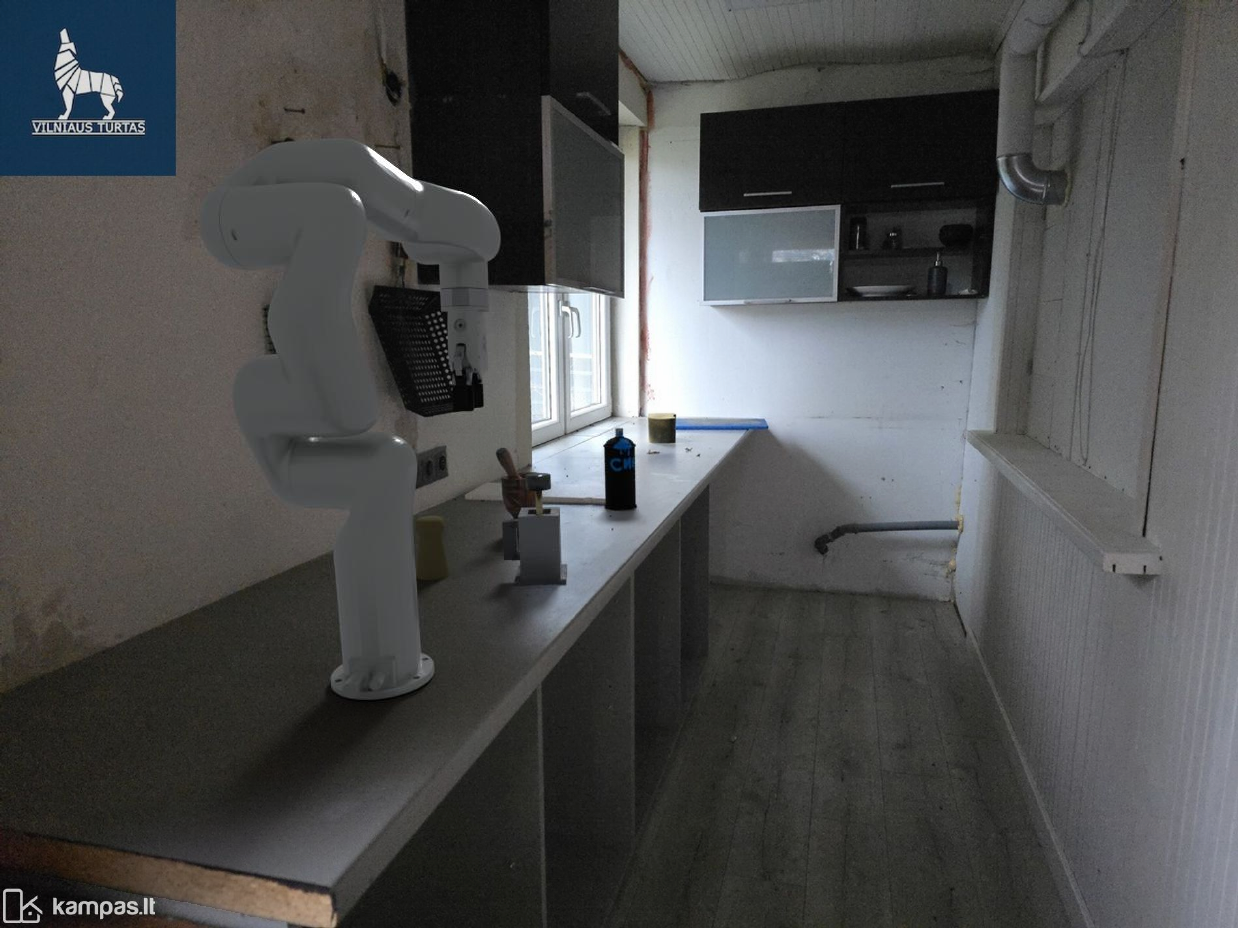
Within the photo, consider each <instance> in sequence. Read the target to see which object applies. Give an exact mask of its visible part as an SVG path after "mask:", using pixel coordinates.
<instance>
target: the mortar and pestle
mask: <svg viewBox="0 0 1238 928" xmlns="http://www.w3.org/2000/svg"><path fill="white" fill-rule="evenodd" d="M495 456H496V459H497V461H498V462H499V464H500V466H501V467H502V468H503V470H504V471H505V473H506V474H503V475H501V477H500V480H501V481H500V482H501V483H500V484H501V494H502V495H501V496H502V500H503V504H504V506H505V510H506V511H507V513H509V514H510V515H511V516H512V519H518V516H519V513H520V510H521V508H535V507H536V496H535V491H529V490H526V475H527V474H532V473H538V472H537V471H519V472H518V471H517V468H516V466H515V464H514V460H513V457H512V454H511V452H510V451H509V449H508V448H506V447H500V448H498V449H497V450H496V452H495ZM517 538H519V528H517Z"/></svg>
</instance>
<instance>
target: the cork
mask: <svg viewBox="0 0 1238 928" xmlns="http://www.w3.org/2000/svg"><path fill="white" fill-rule="evenodd" d="M445 528H446V524H445V520H444V518H443V517H441V516H438V515H424V516H421V517H419V518H418V519H417V520H416V521H415V531H416V534H417V535H418V547H417V549H418V550H417V562H416V563H417V564H416V579H417V580H421V581H437V580H442V579H445V578H448V577H449V576H450V575H451V572H450V567H449V563H448V557H447V552H446V547H445V542H444V537H443V533H444V532H445ZM447 576H448V577H447Z"/></svg>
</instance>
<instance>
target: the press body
mask: <svg viewBox="0 0 1238 928" xmlns="http://www.w3.org/2000/svg"><path fill="white" fill-rule="evenodd" d="M501 528H502V547H503V549H502V550H503V551H502V552H503V553H502V554H503V561H519V565H518V567H517V570H516V573H515V574H516V575H515V579H514V586H534V585H535V586H538V585H539V586H541V585H563V584H565V585H566V584H567V579H568V564H566V563H564V564H563V562H562V540H561V539H562V538H561V537H562V534H561V530H562V529H561V507H560V506H547V507H546V506H543V514H536V507H535V508H521V510H520V513H519V516H518V519H513V518H511V519H503V520H502V521H501ZM517 528H519V537H518V536H517ZM518 545H519V548H518Z"/></svg>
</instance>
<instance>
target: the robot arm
mask: <svg viewBox="0 0 1238 928" xmlns="http://www.w3.org/2000/svg"><path fill="white" fill-rule="evenodd" d="M198 217H199V219H198V225H199V227H198V228H199V232H200V236H201V239H202V242H203V244H204V247H205V248H206V249H207V251H208V253H209V254H211V256H212V257H213V258H214V259H216V260H217V261H218V262H219V263H220V264H222V265H224V266H226V267H228V268H231V269H235V270H241V271H262V270H263V271H265V270H284V272H283V274H282V276H281V278H280V281H279V282H278V285H277V287H276V290H275V292H274V293H273V296H272V299H271V301H270V303H269V308H268V311H267V312H268V313H267V329H268V333H269V337H270V339H271V341H272V344H273V346H274V347H273V348H274V349H275V352H276V354H275V353H273V354H272V353H271V354H265V355H259V356H256V357H253V358H251V359H249V360H247V361H246V362H245V363H244V364H242V366H240V368H239V369H238V371H237V372H236V374H235V377H234V379H233V380H234V381H233V383H232V392H231V395H232V396H231V397H232V409H233V413H234V417H235V419H236V422H237V424H238V426H239V429H240V432H241V434H242V435H243V438H244V439H245V441H246V443H247V444H248V447H249V448H250V451H251V453H252V454H253V457H254V458H255V461H256V463H257V464H258V466H259V468H260V470H261V472H262V474H263V476H264V478H265V480H266V481H267V483H268V486H269V487H270V489H271V490H272V492H273V493H274V494H275V495H276V497H277V498H278V499H279V500H280V501H281V502H283V503H284V504H286V505H288V506H291V507H295V508H301V509H302V508H303V509H327V510H328V509H331V510H339V511H340V510H341V511H348V512H349V513H348V517H347V519H346V521H345V522H344V524H343V525H342V527H341V528H340V530H339V532H338V533H337V536H336V537H335V540H334V544H333V564H334V574H335V575H334V576H335V585H336V586H335V587H336V595H337V596H336V597H337V599H336V600H337V610H338V621H339V635H340V644H341V656H342V657H341V658H342V664H340V665H339V666H337V668H336V669H335V670H333V672H332V673H331V676H330V685H331V686H330V687H331V690H332V691H333V692H334V693H336V694H337V695H339V696H341V697H343V698H347V699H351V700H360V701H361V700H362V701H370V700H371V701H372V700H373V701H374V700H383V699H388V698H393V697H398V696H401V695H404V694H408V693H411V692H412V691H415V690H417V689H419V688H420V687H422V686H424V685H426V684H427V683H428V682H429V681H430V680H431V679H432V678H433V677H434V674H435V663H434V660H433V659H432V658H431V656H429V655H427V654H425V653H423V652H422V650H421V649H422V648H421V647H422V646H421V633H420V619H419V618H420V617H419V616H420V615H419V602H418V601H419V600H418V587H417V585H418V584H417V578H416V574H417V568H416V559H415V558H416V557H415V544H414V541H415V540H414V506H415V505H414V504H415V495H416V487H417V479H418V478H417V477H418V460H417V455H416V453H415V450H414V449H413V447H412V446H411V444H410V443H409V442H408V441H407V440H405V439H404V438H402V437H400V436H399V435H396V434H394V433H390V432H389V433H388V432H385V431H384V432H383V431H371V429H372V428H374V426H375V425H376V423H378V421H379V418H380V414H381V399H380V395H379V391H378V388H377V385H376V382H375V381H376V380H375V377H374V375H373V373H372V369H371V367H370V365H369V361H368V358H367V356H366V354H365V351H364V347H363V345H362V342H361V339H360V336H359V334H358V331H357V328H356V325H355V321H354V318H353V314H352V313H353V312H352V296H353V295H352V294H353V289H354V283H355V279H356V274H357V272H358V267H359V265H360V261H361V258H362V254H363V251H364V247H365V244H366V241H367V240H366V239H367V234H368V232H370V233H372V234H374V235H375V236H377V237H378V238H381V239H383V240H386V241H390V242H395V243H401V246H402V248H403V251H404V252H405V253H406V255H407V256H408V257H409V258H410V259H411V260H413V261H414V262H416V263H418V264H420V265H427V266H428V265H439V268H438V269H439V287H440V288H439V290H440V291H439V293H440V310H441V312H445V313H447V348H448V349H447V350H448V351H447V354H448V364H449V365H448V366H449V369H450V371H451V372H452V381H451V384H452V386H451V389H452V390H451V393H452V409H453V412H456V413H458V412H459V413H461V412H463V413H464V412H474V410H475V408H477V409H478V408H479V409H481V408H483V407H484V406H485V401H484V400H485V398H484V396H485V395H484V383H483V373H484V374H485V373H486V372H488V371H489V357H488V356H489V354H488V343H487V329H486V321H485V313H486V312H489V311H490V308H489V307H490V304H489V303H490V299H489V298H490V297H489V296H490V295H489V272H488V270H489V269H488V262H490V261H491V260H492V259H494V258H495V257H496V255H498V253H499V251H500V247H501V231H500V227H499V224H498V222H497V219H496V217H495V216H494V214H493V213H492V212H491V211H490V210H489V209H488V207H487V206H486V205H485V204H483V203H482V202H481V201H480V200H478V199H477V198H476V197H474V196H472V195H470V194H468V193H465V192H462V191H460V190H459V191H458V190H456V189H451V188H448V187H444V186H441V185H437V184H434V183H431V182H427V181H425V180H419V179H416V178H412V177H410V176H408V175H407V174H406V173H405V172H403V171H401V170H400V169H399V168H397V167H396V166H394V164H392V163H391V162H390V161H388V160H387V159H386V158H384V157H383V156H382V155H380V154H379V153H377V152H376V151H375V150H373V149H372V148H370V147H369V146H367V145H366V144H364V143H362V142H360V141H359V140H355V139H351V138H343V137H332V138H330V137H329V138H320V139H318V138H317V139H306V140H305V139H304V140H294V141H293V140H292V141H282V142H278V143H274V144H271V145H269V146H267V147H266V148H264V149H262V150H260V151H258V152H257V153H256V154H254V155H252V157H250V158H248V159H247V160H246V161H245V162H244V163H243V164H242V165H240V166H239V167H237V169H236V170H234V171H233V172H232V173H231V174H229V175H228V176H227V177H226V178H224V179H223V180H222V181H221V182H219V183H218V184H217V185H216V186H215V187H213V188H212V189H211V191H210V192H209V193H208V194H207V196H206V197H205V199H204V201H203V202H202V205H201V208H200V212H199V216H198ZM484 312H485V313H484Z"/></svg>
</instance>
